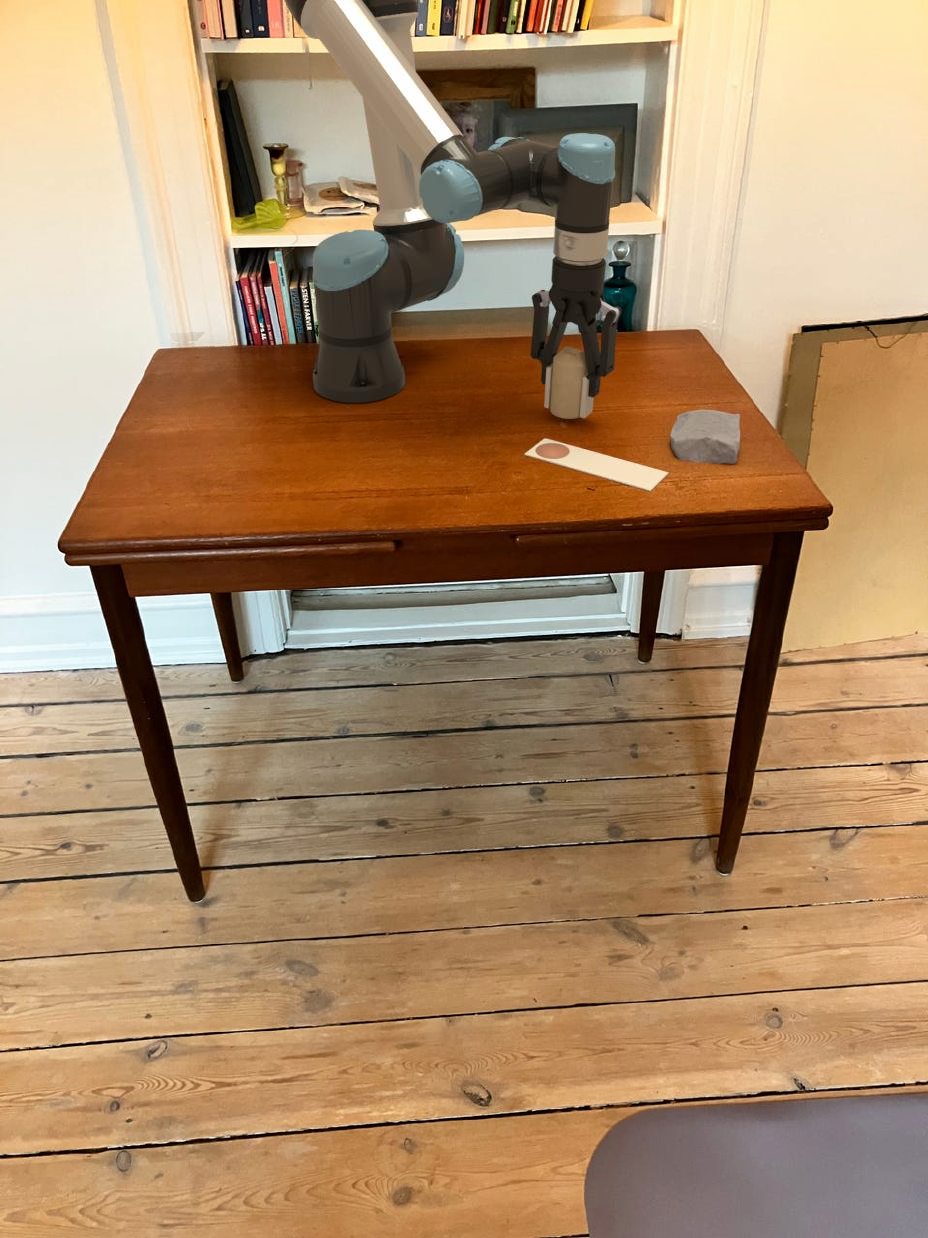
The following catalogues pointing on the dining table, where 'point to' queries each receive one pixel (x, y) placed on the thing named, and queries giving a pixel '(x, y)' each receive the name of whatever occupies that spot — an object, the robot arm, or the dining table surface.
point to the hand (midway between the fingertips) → (568, 409)
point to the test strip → (597, 464)
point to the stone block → (706, 437)
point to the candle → (567, 382)
